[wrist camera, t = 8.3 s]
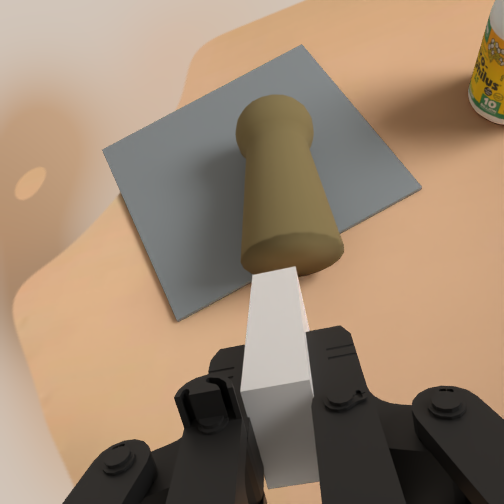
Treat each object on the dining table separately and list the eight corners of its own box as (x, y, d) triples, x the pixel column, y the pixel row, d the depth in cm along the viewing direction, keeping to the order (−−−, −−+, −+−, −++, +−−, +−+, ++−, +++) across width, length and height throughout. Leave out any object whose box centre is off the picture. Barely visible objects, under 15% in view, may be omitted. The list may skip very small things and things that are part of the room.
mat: (302, 47, 39) (301, 44, 38) (421, 189, 31) (421, 186, 31) (103, 152, 38) (102, 149, 38) (178, 321, 31) (176, 320, 30)
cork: (218, 259, 27) (209, 112, 32) (279, 285, 32) (263, 152, 36) (308, 219, 24) (282, 62, 29) (362, 255, 28) (331, 113, 33)
